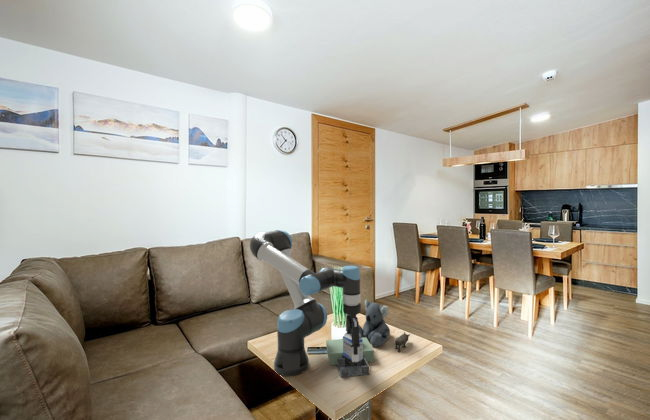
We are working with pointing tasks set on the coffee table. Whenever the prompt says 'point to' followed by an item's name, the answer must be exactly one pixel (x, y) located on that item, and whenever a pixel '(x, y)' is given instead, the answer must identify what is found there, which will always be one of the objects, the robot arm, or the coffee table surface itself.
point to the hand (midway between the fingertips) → (352, 355)
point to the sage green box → (337, 350)
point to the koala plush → (375, 324)
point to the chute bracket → (353, 368)
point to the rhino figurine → (401, 341)
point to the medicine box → (348, 349)
